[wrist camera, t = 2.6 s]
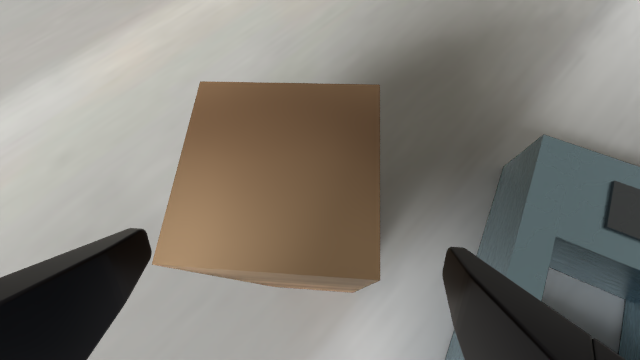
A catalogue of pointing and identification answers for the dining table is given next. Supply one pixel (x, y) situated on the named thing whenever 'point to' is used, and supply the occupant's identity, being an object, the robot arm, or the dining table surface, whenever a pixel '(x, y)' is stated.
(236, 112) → the wooden square peg
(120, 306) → the robot arm
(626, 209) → the socket block
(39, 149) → the dining table surface
